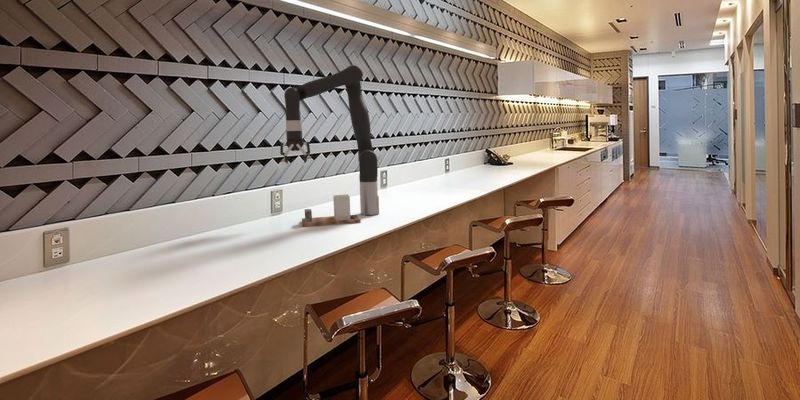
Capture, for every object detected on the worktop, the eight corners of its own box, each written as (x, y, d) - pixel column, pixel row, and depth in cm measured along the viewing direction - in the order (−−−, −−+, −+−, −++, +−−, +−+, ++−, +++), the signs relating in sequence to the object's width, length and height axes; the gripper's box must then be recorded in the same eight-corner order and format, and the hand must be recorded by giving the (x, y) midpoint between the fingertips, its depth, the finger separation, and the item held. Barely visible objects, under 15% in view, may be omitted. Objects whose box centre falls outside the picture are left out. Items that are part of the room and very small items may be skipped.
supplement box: (351, 222, 212) (349, 196, 210) (335, 223, 211) (334, 197, 209) (349, 219, 220) (348, 194, 217) (334, 220, 218) (333, 195, 216)
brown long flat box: (356, 217, 222) (356, 204, 221) (360, 222, 210) (360, 209, 209) (301, 221, 215) (301, 208, 214) (302, 226, 204) (301, 213, 203)
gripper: (308, 129, 220) (310, 162, 223) (279, 130, 217) (281, 163, 220) (309, 129, 213) (311, 163, 216) (278, 130, 210) (281, 164, 213)
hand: (296, 163), depth 218 cm, fingers open, 8 cm apart
